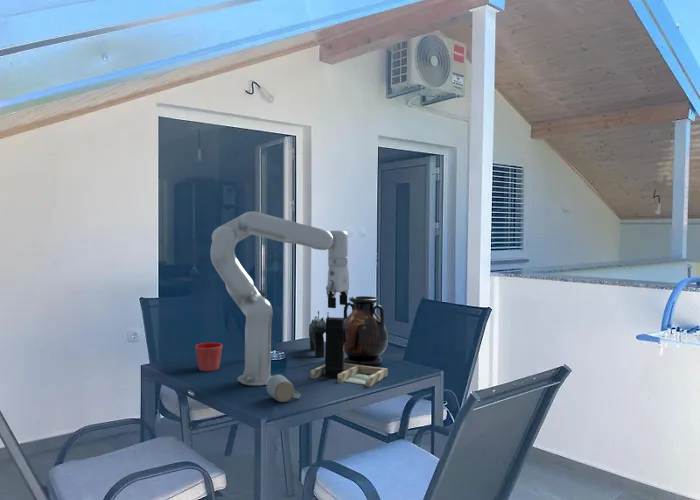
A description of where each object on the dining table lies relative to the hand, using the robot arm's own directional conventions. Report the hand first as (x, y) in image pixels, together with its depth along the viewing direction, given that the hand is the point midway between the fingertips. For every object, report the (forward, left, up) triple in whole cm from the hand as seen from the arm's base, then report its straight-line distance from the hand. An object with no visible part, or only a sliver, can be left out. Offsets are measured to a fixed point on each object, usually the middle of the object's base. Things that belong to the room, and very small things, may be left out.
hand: (337, 306), depth 222 cm
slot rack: (0, -5, -27) cm, 28 cm away
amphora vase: (+26, +1, -27) cm, 38 cm away
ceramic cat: (+31, +27, -28) cm, 49 cm away
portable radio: (0, 0, -27) cm, 27 cm away
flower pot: (-16, +50, -27) cm, 59 cm away
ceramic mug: (-36, +1, -28) cm, 45 cm away
